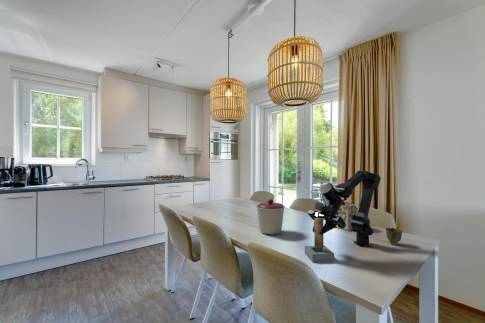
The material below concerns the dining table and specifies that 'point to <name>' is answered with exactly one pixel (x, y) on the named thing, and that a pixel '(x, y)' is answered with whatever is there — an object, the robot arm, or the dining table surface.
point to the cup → (393, 235)
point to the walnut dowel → (318, 232)
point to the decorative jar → (347, 214)
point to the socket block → (319, 254)
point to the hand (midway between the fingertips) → (316, 233)
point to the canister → (270, 217)
